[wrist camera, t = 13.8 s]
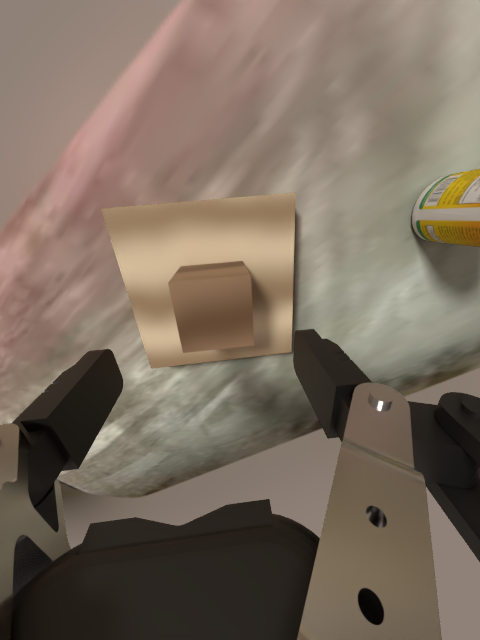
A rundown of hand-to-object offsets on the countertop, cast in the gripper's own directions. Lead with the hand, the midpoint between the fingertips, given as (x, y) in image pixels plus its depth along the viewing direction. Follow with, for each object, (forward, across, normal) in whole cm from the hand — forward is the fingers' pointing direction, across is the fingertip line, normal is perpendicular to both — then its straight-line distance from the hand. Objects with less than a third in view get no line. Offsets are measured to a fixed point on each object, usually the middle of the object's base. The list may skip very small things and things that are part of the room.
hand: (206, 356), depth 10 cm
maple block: (+13, 0, 0) cm, 13 cm away
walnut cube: (+10, 0, 0) cm, 10 cm away
